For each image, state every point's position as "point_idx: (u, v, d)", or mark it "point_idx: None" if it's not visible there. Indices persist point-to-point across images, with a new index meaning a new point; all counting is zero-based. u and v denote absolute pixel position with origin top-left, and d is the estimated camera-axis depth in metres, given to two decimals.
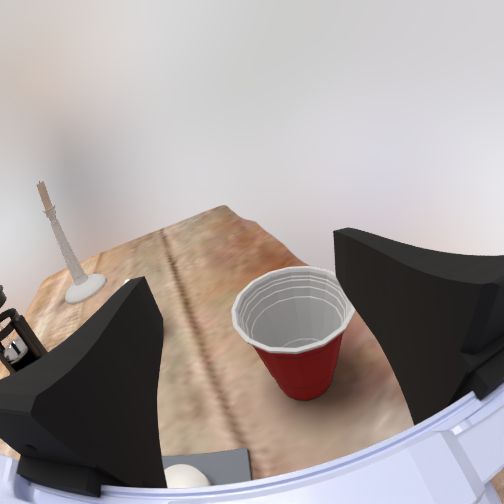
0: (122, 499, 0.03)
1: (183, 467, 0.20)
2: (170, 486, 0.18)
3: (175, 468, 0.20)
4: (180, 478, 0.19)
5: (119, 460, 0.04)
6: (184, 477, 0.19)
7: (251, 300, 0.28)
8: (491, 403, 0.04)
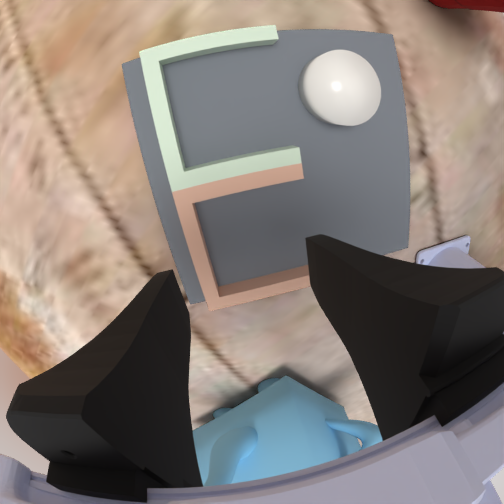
0: None
1: (347, 55, 0.13)
2: (333, 86, 0.14)
3: (335, 56, 0.14)
4: (346, 73, 0.14)
5: (163, 460, 0.05)
6: (352, 72, 0.14)
7: None
8: None
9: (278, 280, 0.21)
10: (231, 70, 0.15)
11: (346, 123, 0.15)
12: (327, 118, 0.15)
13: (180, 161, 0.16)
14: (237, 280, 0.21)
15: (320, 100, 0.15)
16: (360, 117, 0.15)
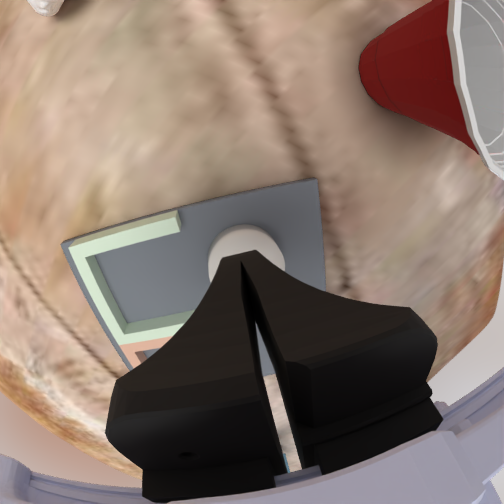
0: None
1: (250, 241, 0.18)
2: None
3: (236, 243, 0.18)
4: None
5: (277, 444, 0.05)
6: None
7: None
8: None
9: None
10: (147, 253, 0.19)
11: None
12: None
13: (120, 328, 0.20)
14: None
15: None
16: None
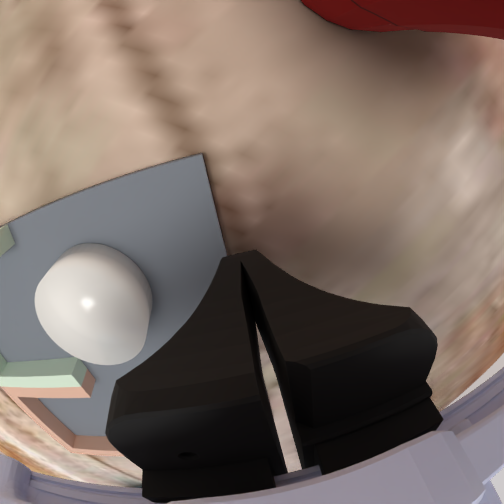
0: None
1: (75, 277, 0.09)
2: (68, 321, 0.10)
3: (58, 279, 0.09)
4: (80, 304, 0.09)
5: (277, 444, 0.05)
6: (87, 302, 0.09)
7: None
8: None
9: None
10: None
11: (98, 362, 0.11)
12: None
13: None
14: (87, 434, 0.17)
15: (57, 337, 0.10)
16: (116, 357, 0.11)
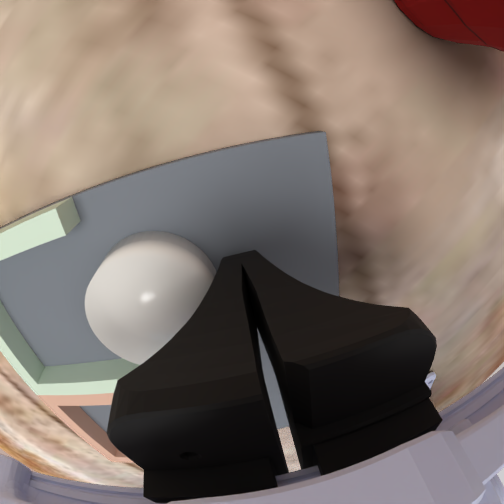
0: None
1: (147, 267, 0.08)
2: (126, 320, 0.09)
3: (123, 269, 0.08)
4: (147, 299, 0.09)
5: (279, 444, 0.05)
6: (157, 297, 0.09)
7: None
8: None
9: None
10: (42, 270, 0.10)
11: None
12: None
13: (30, 375, 0.11)
14: None
15: (108, 339, 0.09)
16: None
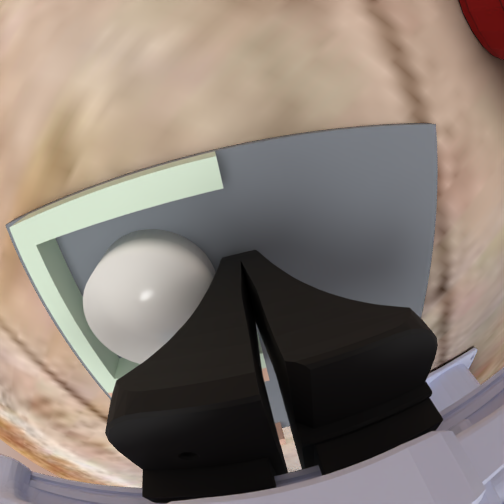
0: None
1: (148, 265, 0.08)
2: (124, 317, 0.09)
3: (123, 266, 0.08)
4: (146, 297, 0.09)
5: (277, 444, 0.05)
6: (157, 295, 0.09)
7: None
8: None
9: None
10: None
11: None
12: None
13: (106, 369, 0.11)
14: None
15: (105, 336, 0.09)
16: None
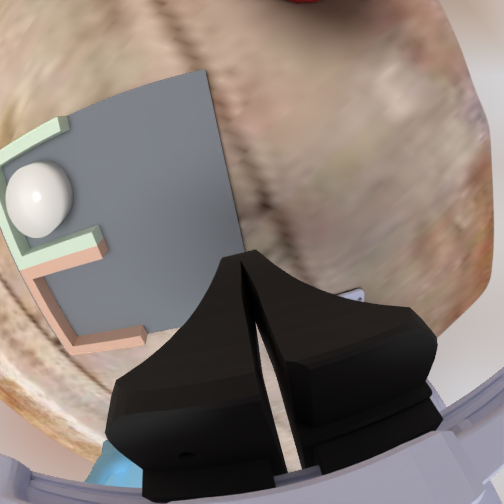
0: None
1: (29, 171, 0.13)
2: (21, 204, 0.14)
3: (21, 174, 0.13)
4: (29, 189, 0.14)
5: (277, 444, 0.05)
6: (33, 187, 0.14)
7: None
8: None
9: (113, 338, 0.21)
10: None
11: (35, 236, 0.15)
12: None
13: (18, 248, 0.16)
14: (89, 332, 0.22)
15: (14, 218, 0.14)
16: (45, 229, 0.15)
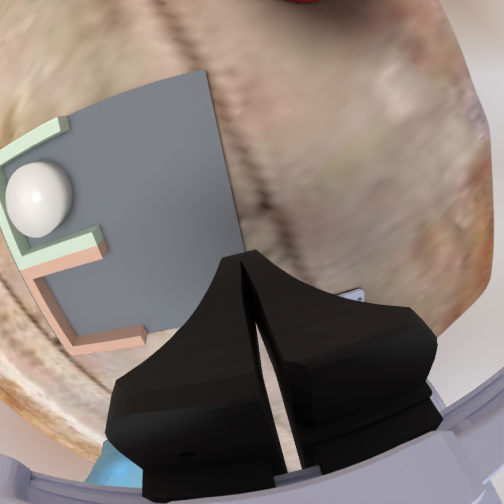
0: None
1: (27, 170, 0.13)
2: (21, 204, 0.14)
3: (19, 174, 0.13)
4: (28, 188, 0.14)
5: (277, 444, 0.05)
6: (32, 186, 0.14)
7: None
8: None
9: (113, 338, 0.21)
10: None
11: (35, 235, 0.15)
12: None
13: (18, 248, 0.16)
14: (89, 332, 0.22)
15: (14, 219, 0.14)
16: (45, 228, 0.15)
